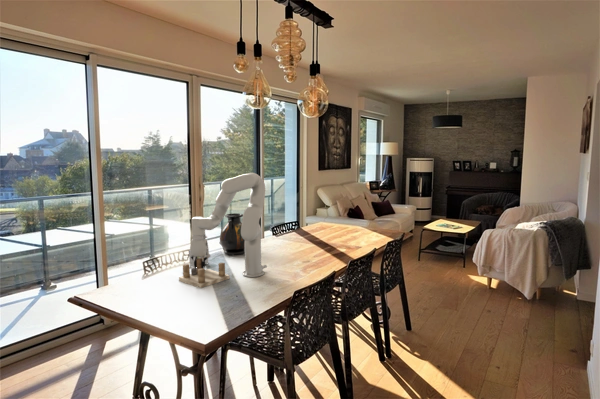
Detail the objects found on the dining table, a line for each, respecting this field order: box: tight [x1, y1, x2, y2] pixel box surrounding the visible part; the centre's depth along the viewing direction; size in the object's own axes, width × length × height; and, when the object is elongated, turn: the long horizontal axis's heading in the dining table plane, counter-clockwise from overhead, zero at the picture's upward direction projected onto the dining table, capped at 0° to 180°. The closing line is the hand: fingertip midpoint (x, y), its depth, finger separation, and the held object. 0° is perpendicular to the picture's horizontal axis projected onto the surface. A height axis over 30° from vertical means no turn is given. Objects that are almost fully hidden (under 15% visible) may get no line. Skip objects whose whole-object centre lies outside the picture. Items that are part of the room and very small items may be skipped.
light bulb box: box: [188, 249, 209, 268], centre depth 248 cm, size 11×7×11 cm, turn 149°
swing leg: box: [190, 258, 202, 275], centre depth 226 cm, size 12×4×7 cm, turn 173°
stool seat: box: [178, 262, 231, 289], centre depth 219 cm, size 20×20×9 cm
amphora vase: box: [219, 212, 245, 256], centre depth 277 cm, size 22×22×28 cm
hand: (199, 267), depth 231 cm, fingers closed on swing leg, 3 cm apart
